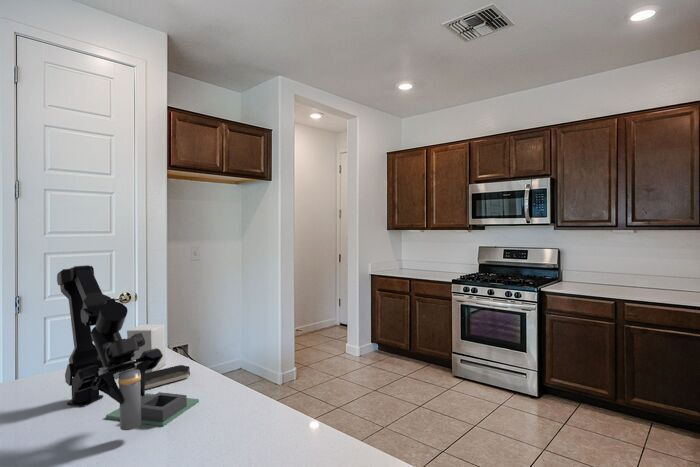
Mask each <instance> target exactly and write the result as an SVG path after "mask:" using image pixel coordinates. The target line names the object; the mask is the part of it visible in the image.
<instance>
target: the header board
mask: <svg viewBox="0 0 700 467" xmlns="http://www.w3.org/2000/svg"><path fill="white" fill-rule="evenodd" d="M199 402H200V399H198V398H191V397H187V394H180V393H179V394H178V393H171V392H170V393H169V392H160V391H159V392H157V393H155V394H154V393H148V392H147V393H146V392H145V395H144V396H143V397H142V396H141V420H142V425H143V424H144V425H151V426H157V427H159V426H160V427H165V426H166V425H167V423H168V424H169V423H171V422H172V421H173V419H174V418H175V419H176V418H178V417H179V416H181V415H183V414H184V413H185V412H186V410H187V411H188V410H190V409H191V408H192V407H194V406H195V405H197V404H198V403H199ZM196 403H197V404H196ZM184 411H185V412H184ZM183 412H184V413H183ZM180 414H181V415H180ZM177 416H178V417H177ZM105 419H107V420H108V419H109V420H114V421H115V420H116V421H120V407H118V408H116V409H114V411H111V412H109V413H107V414H106V415H105ZM175 419H174V420H175ZM170 421H171V422H170Z"/></svg>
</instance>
